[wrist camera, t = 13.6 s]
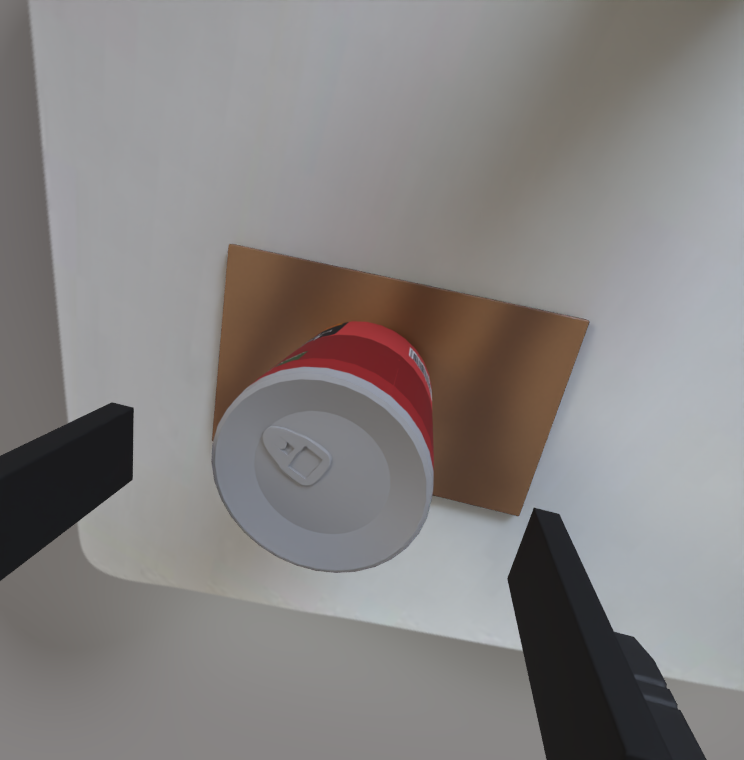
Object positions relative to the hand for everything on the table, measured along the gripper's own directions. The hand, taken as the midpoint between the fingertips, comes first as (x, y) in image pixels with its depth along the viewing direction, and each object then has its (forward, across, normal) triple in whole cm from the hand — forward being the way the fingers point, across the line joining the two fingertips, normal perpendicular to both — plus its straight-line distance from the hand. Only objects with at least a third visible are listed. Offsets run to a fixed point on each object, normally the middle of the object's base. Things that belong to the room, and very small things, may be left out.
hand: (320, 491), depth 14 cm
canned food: (+12, 0, 0) cm, 12 cm away
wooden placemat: (+12, +1, 0) cm, 13 cm away
